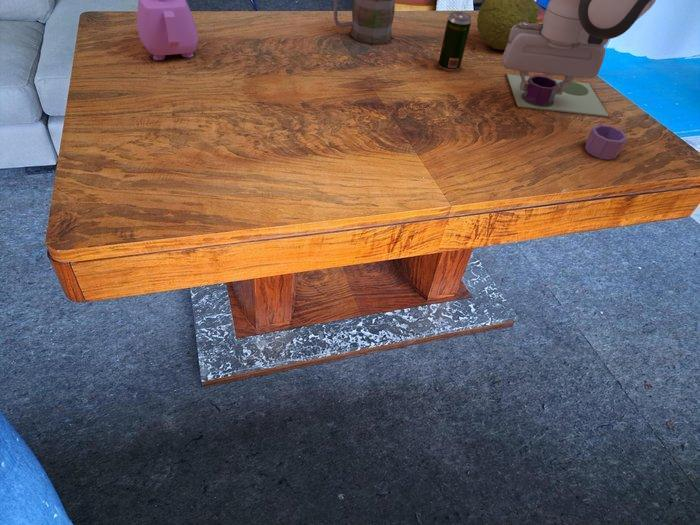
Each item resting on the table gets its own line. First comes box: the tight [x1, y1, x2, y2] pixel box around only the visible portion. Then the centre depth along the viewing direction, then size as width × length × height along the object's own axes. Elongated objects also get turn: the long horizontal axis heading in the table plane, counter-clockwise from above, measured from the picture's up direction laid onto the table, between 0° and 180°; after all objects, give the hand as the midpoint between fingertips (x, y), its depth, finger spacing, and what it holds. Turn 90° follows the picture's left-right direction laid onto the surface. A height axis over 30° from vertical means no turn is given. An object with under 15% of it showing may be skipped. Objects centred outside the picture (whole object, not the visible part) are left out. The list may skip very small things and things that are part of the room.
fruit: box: [476, 0, 540, 51], centre depth 131 cm, size 16×14×15 cm
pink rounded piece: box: [136, 0, 199, 61], centre depth 112 cm, size 20×12×13 cm, turn 24°
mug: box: [333, 0, 396, 45], centre depth 129 cm, size 16×11×12 cm
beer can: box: [438, 10, 472, 73], centre depth 119 cm, size 5×5×12 cm
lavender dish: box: [584, 124, 628, 161], centre depth 99 cm, size 6×6×4 cm
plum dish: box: [524, 75, 559, 106], centre depth 112 cm, size 6×6×4 cm
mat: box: [506, 73, 610, 118], centre depth 117 cm, size 20×16×1 cm
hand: (540, 91), depth 113 cm, fingers closed on plum dish, 6 cm apart
